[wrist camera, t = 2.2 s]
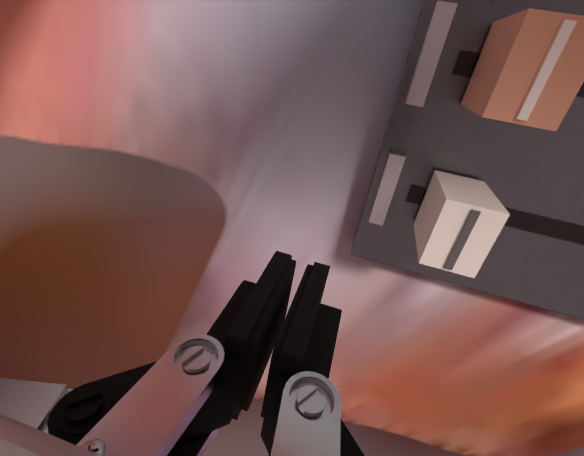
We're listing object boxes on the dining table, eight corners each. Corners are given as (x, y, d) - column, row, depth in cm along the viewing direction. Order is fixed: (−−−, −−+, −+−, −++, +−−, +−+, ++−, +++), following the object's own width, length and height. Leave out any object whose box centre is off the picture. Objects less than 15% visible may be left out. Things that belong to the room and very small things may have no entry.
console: (446, -72, 17) (455, -94, 15) (983, -14, 13) (1111, -31, 11) (353, 242, 27) (349, 260, 24) (649, 323, 23) (678, 352, 21)
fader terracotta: (493, 22, 16) (530, 7, 12) (556, 31, 16) (620, 20, 11) (460, 104, 18) (482, 117, 14) (516, 114, 18) (557, 132, 13)
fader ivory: (434, 170, 20) (447, 200, 16) (484, 181, 20) (511, 215, 15) (413, 224, 22) (418, 264, 18) (458, 235, 22) (474, 280, 17)
